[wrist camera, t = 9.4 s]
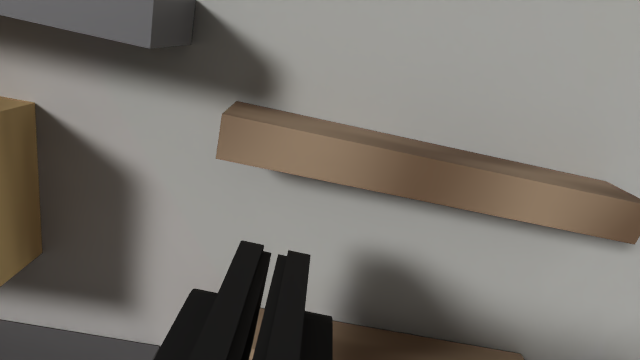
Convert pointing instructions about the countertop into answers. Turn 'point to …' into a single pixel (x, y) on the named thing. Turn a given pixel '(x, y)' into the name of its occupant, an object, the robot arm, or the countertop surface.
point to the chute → (421, 198)
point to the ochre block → (18, 188)
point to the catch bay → (118, 25)
